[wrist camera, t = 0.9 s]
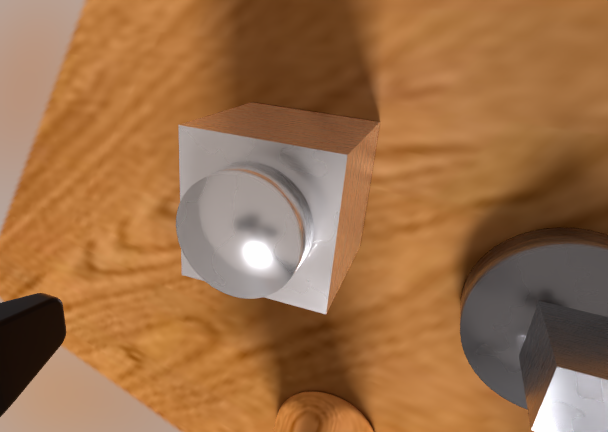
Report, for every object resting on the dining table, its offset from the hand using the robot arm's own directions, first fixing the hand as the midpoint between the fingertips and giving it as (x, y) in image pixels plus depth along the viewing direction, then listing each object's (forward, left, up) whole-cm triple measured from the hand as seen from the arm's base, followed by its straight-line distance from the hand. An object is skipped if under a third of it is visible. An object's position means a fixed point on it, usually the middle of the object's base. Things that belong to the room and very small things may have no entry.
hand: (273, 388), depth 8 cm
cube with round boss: (-1, +4, -14) cm, 14 cm away
